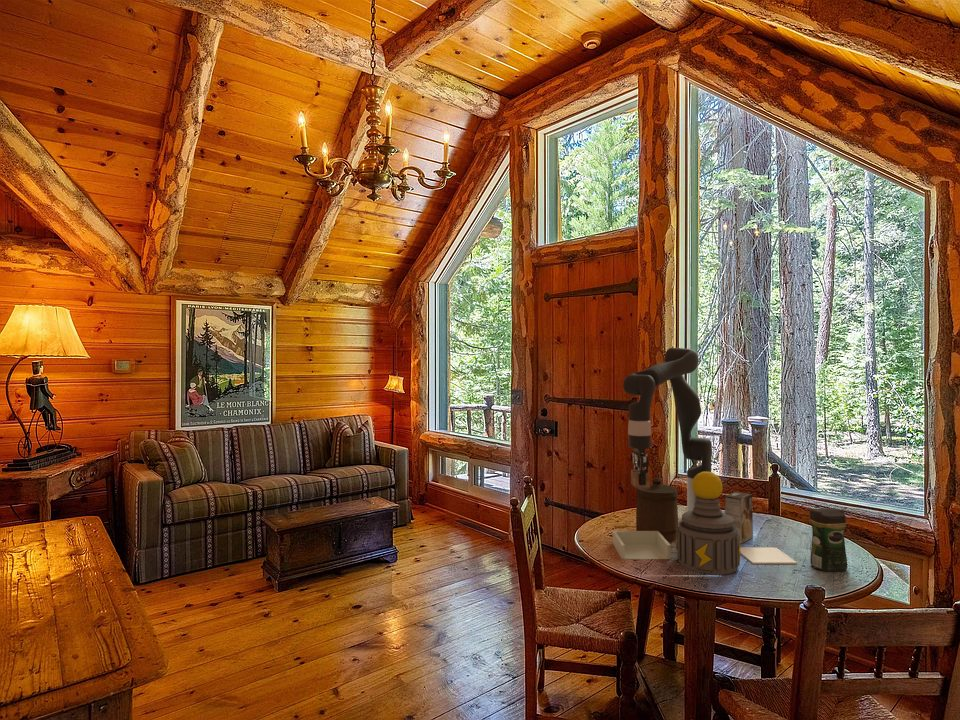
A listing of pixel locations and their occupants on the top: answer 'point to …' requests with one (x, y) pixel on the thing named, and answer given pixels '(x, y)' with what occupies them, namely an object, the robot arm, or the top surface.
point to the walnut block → (636, 479)
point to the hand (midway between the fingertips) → (640, 482)
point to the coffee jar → (828, 539)
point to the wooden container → (657, 509)
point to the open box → (641, 545)
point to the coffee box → (740, 513)
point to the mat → (766, 556)
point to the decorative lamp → (708, 531)
